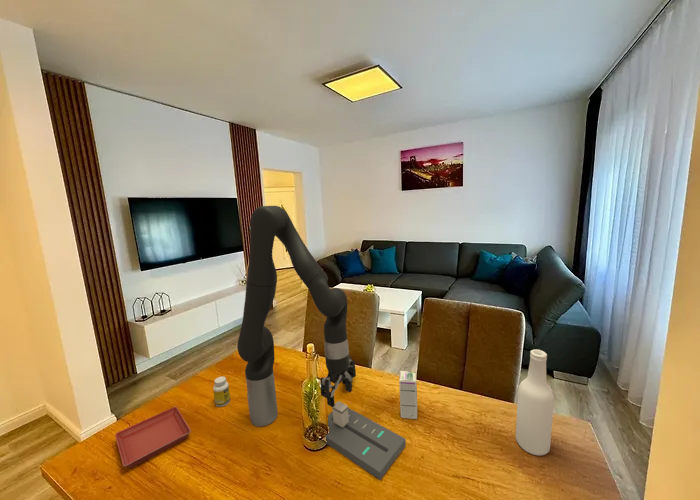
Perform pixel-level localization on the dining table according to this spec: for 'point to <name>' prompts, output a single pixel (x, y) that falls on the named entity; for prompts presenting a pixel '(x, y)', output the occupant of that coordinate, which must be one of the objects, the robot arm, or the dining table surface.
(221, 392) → the supplement bottle
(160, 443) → the plant saucer
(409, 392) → the syrup box
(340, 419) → the fader tab
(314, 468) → the dining table surface
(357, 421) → the console
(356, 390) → the dining table surface
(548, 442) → the alcohol
